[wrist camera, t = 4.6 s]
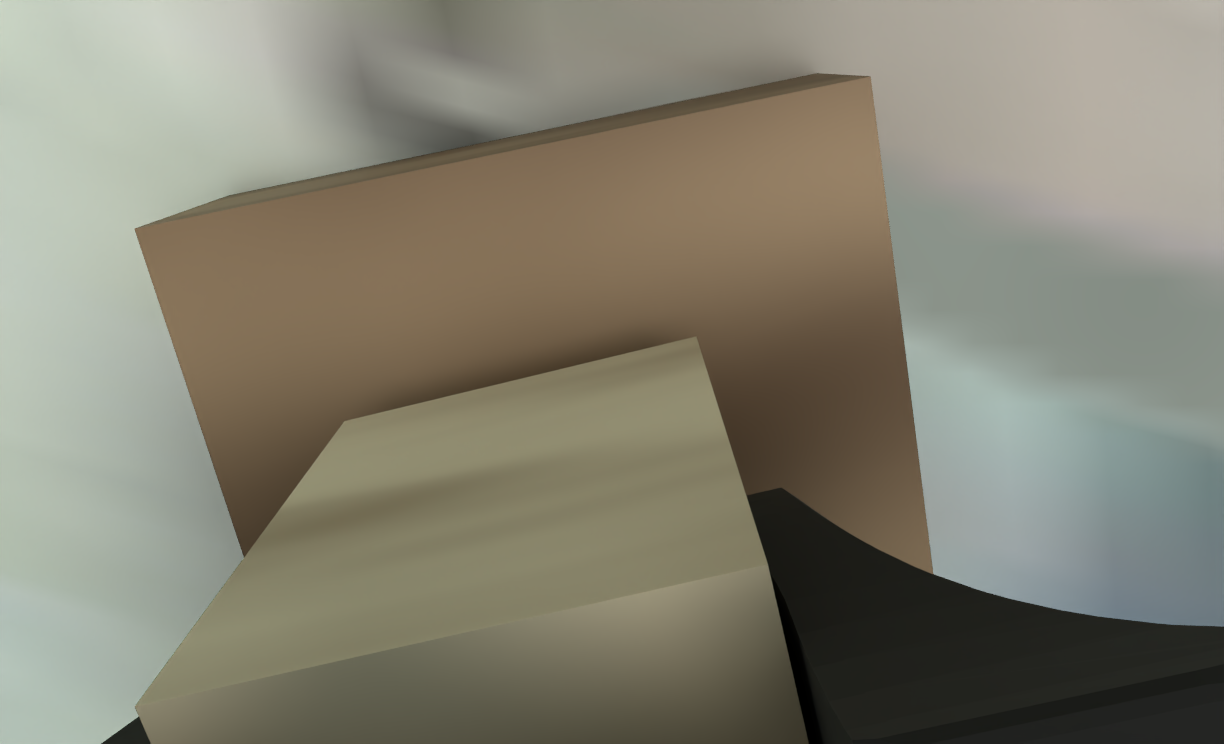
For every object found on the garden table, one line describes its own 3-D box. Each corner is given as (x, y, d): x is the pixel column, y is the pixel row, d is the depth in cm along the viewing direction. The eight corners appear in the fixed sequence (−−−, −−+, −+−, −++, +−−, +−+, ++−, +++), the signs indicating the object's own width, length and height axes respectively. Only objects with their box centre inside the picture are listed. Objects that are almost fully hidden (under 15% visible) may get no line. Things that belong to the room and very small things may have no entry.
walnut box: (887, 600, 20) (953, 727, 16) (386, 689, 21) (335, 832, 17) (812, 72, 17) (870, 76, 14) (236, 192, 18) (135, 228, 14)
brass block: (769, 652, 14) (882, 1066, 8) (447, 722, 14) (337, 1168, 9) (696, 336, 13) (767, 565, 7) (344, 420, 13) (134, 706, 7)
